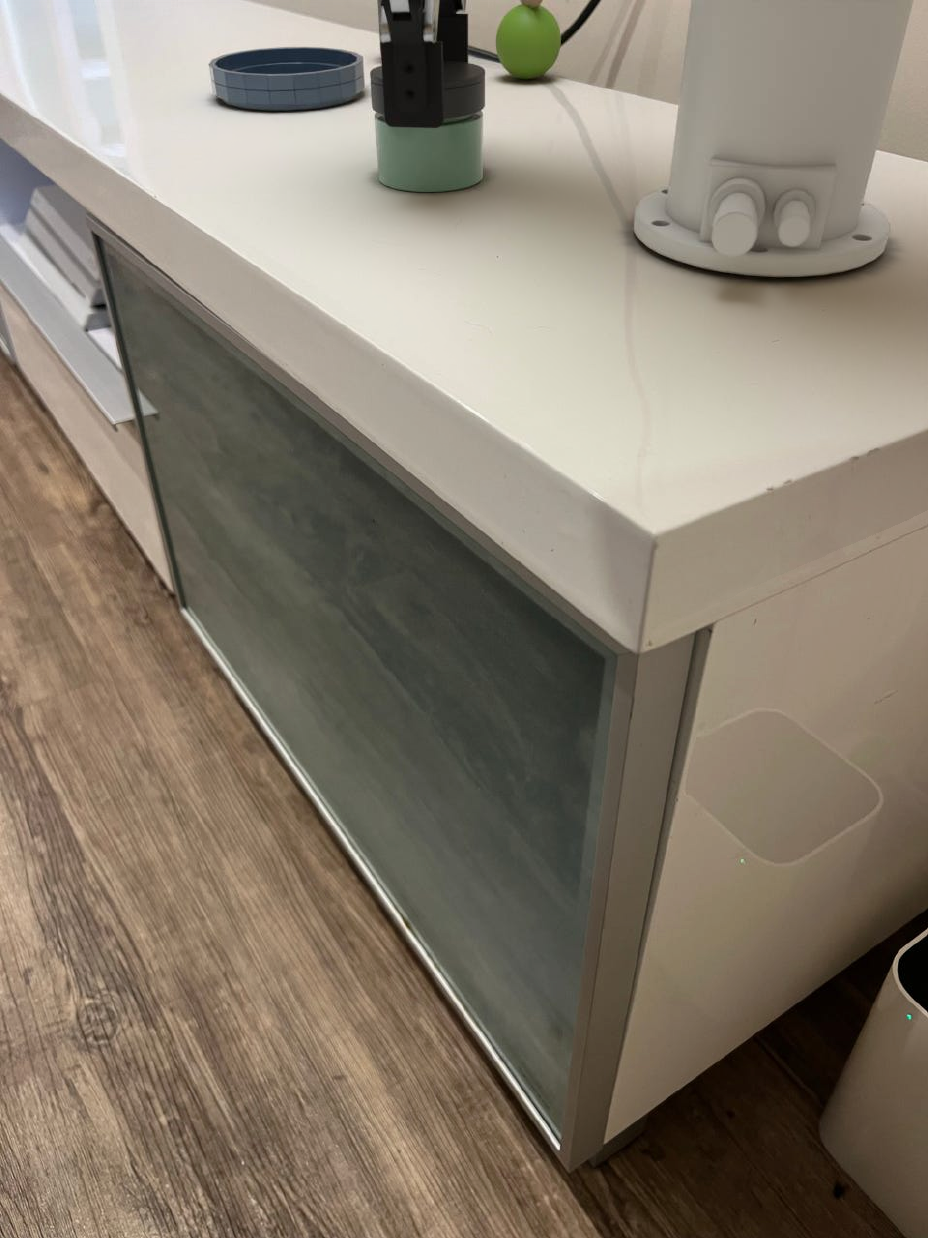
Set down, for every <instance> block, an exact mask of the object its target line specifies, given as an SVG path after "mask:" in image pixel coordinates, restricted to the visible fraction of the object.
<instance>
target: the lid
mask: <svg viewBox="0 0 928 1238" xmlns="http://www.w3.org/2000/svg"><path fill="white" fill-rule="evenodd" d="M369 76H370V78H369V79H370V91H371V92H370V94H371V107H372V110H373V111H374V112H375V113H376V112H377V113H379V114H382V115H384V98H383V80H382V65H379V66H375V67H374V68H372V69H371V70H370V72H369ZM443 84H444V119H448V118H456V117H462V116H467V115H471V114H474V113H477V112H479V111H483V110H484V108H485V106H486V69H485V68H484V67H482V66H480V65H478V64H475V63H471V62H468V63H465V62H458V61H445V60H443Z"/></svg>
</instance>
